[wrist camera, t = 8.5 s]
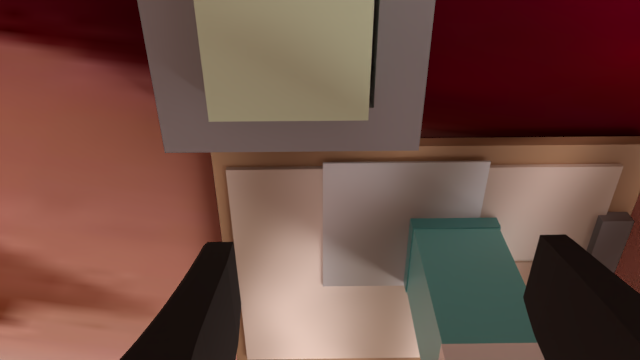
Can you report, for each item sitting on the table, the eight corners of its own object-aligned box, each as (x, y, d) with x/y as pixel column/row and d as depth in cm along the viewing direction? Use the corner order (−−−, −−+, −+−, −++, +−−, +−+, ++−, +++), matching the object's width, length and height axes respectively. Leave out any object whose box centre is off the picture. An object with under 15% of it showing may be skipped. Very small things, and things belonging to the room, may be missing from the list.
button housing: (431, -149, 15) (451, -143, 13) (406, 113, 20) (418, 150, 17) (140, -147, 15) (111, -141, 13) (181, 115, 20) (164, 152, 17)
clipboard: (649, 136, 20) (667, 152, 19) (569, 353, 27) (579, 373, 26) (212, 139, 20) (207, 156, 19) (240, 356, 27) (237, 377, 26)
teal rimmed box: (496, 217, 21) (567, 371, 15) (482, 280, 23) (541, 440, 17) (410, 218, 21) (448, 373, 15) (403, 282, 23) (435, 441, 17)
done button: (367, -69, 15) (376, -49, 13) (361, 82, 17) (368, 120, 15) (205, -68, 15) (187, -48, 13) (221, 83, 17) (208, 121, 15)
